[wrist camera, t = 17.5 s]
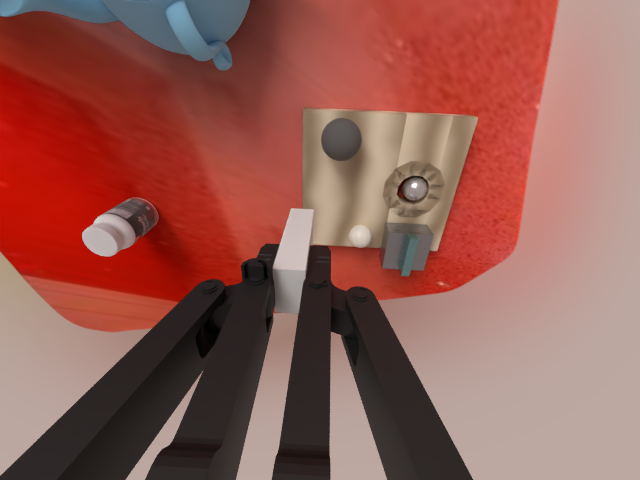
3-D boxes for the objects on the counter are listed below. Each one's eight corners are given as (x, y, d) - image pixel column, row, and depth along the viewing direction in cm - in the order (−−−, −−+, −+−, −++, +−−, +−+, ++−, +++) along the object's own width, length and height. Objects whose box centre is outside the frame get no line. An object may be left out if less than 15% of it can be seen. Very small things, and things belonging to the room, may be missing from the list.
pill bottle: (160, 230, 48) (123, 264, 39) (126, 222, 47) (80, 254, 39) (159, 201, 45) (119, 230, 36) (123, 191, 44) (73, 219, 36)
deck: (303, 236, 47) (302, 243, 45) (304, 107, 37) (303, 109, 35) (432, 242, 47) (437, 251, 45) (469, 114, 37) (478, 117, 34)
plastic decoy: (347, 239, 44) (348, 251, 41) (349, 220, 43) (350, 231, 40) (368, 240, 44) (371, 252, 41) (371, 221, 42) (374, 232, 39)
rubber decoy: (321, 154, 38) (319, 164, 33) (322, 114, 35) (321, 120, 31) (357, 156, 37) (360, 166, 33) (362, 116, 35) (366, 122, 31)
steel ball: (395, 199, 41) (414, 205, 39) (398, 175, 40) (418, 180, 37) (410, 195, 43) (430, 200, 41) (414, 172, 42) (434, 177, 39)
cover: (379, 256, 46) (383, 274, 41) (385, 222, 42) (391, 238, 38) (417, 258, 45) (426, 277, 41) (427, 224, 42) (437, 240, 38)
